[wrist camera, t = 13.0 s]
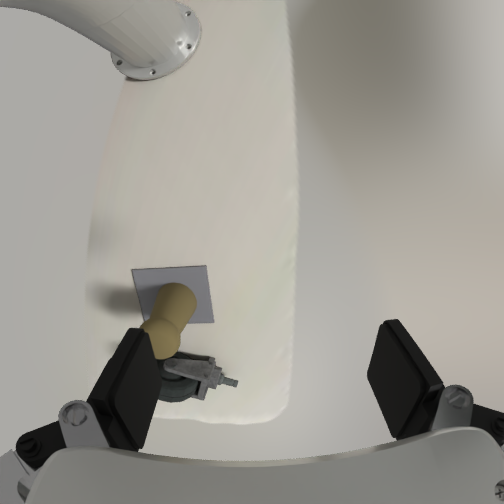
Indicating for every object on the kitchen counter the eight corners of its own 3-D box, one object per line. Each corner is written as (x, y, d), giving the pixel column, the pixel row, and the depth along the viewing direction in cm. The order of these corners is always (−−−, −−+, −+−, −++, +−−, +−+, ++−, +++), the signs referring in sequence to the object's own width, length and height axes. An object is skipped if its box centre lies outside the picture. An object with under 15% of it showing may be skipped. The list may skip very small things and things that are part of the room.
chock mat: (132, 269, 39) (132, 270, 38) (206, 265, 38) (205, 266, 38) (146, 322, 42) (145, 323, 41) (214, 321, 41) (214, 322, 41)
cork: (168, 322, 41) (146, 370, 31) (150, 288, 39) (121, 331, 29) (203, 313, 41) (189, 362, 30) (186, 277, 39) (164, 319, 28)
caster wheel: (153, 358, 45) (235, 386, 45) (130, 394, 36) (225, 427, 36) (156, 334, 44) (243, 363, 43) (131, 370, 34) (234, 406, 34)
